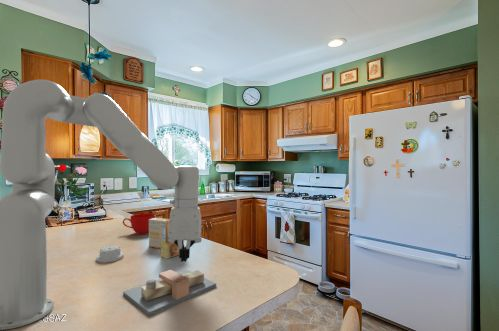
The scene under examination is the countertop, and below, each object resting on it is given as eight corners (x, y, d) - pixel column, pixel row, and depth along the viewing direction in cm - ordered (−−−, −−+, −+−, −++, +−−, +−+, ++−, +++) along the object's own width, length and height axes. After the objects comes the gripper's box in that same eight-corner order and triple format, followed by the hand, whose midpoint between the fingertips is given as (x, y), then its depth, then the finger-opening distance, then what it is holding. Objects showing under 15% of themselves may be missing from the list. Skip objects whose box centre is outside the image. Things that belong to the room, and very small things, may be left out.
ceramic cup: (124, 231, 151) (124, 214, 151) (155, 229, 156) (155, 213, 156) (120, 237, 139) (120, 218, 139) (154, 234, 144) (154, 216, 144)
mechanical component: (90, 262, 103) (112, 264, 101) (90, 251, 103) (112, 252, 101) (108, 254, 113) (128, 255, 111) (108, 244, 113) (128, 245, 111)
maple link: (146, 301, 70) (146, 286, 70) (141, 295, 73) (141, 281, 73) (204, 281, 82) (204, 269, 82) (197, 277, 85) (197, 265, 85)
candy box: (179, 251, 115) (179, 217, 116) (184, 253, 113) (184, 218, 113) (160, 256, 109) (160, 220, 109) (165, 259, 106) (166, 221, 106)
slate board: (149, 316, 65) (149, 312, 65) (123, 295, 76) (123, 291, 76) (216, 286, 82) (216, 283, 82) (186, 272, 92) (186, 269, 92)
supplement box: (168, 246, 123) (168, 218, 123) (160, 249, 119) (160, 220, 119) (156, 243, 127) (156, 217, 127) (148, 246, 123) (148, 218, 123)
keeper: (176, 299, 72) (176, 283, 72) (158, 288, 78) (158, 273, 78) (188, 294, 75) (188, 278, 75) (170, 284, 81) (170, 269, 81)
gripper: (159, 204, 80) (157, 264, 80) (207, 205, 81) (206, 264, 81) (166, 201, 88) (164, 256, 88) (210, 202, 89) (208, 256, 88)
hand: (184, 260), depth 84 cm, fingers closed
